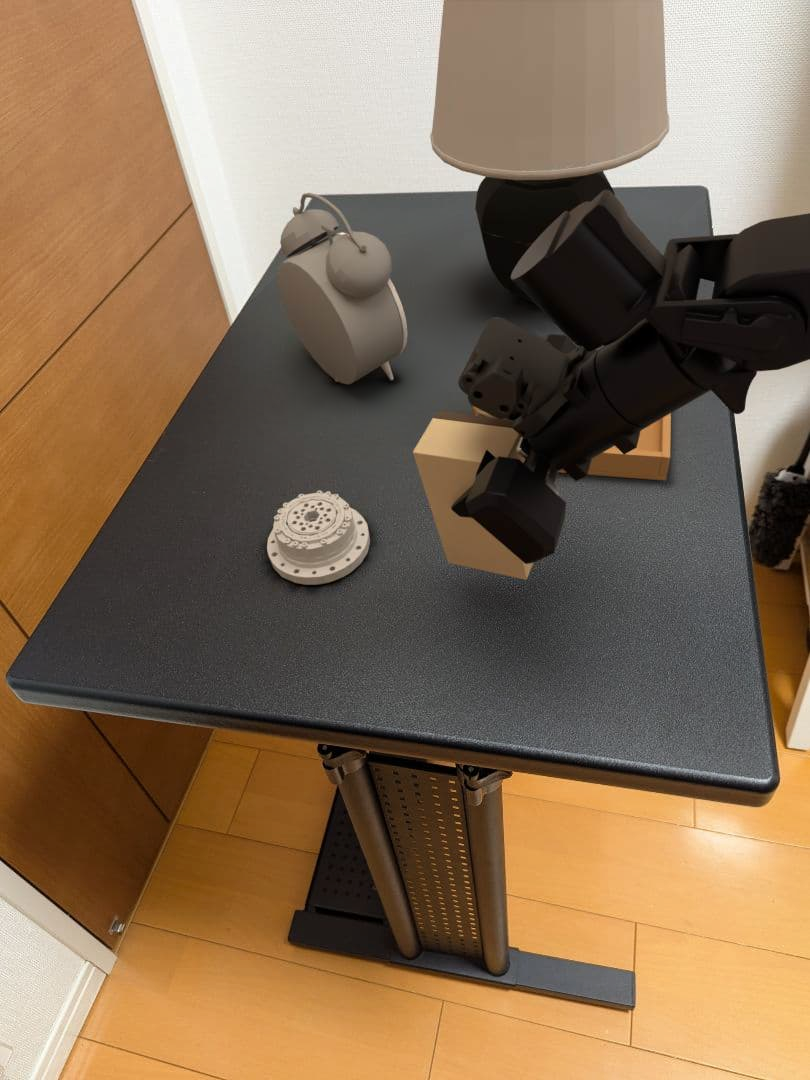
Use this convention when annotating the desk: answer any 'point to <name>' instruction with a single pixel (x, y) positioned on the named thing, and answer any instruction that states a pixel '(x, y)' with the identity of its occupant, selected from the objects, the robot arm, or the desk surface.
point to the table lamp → (545, 107)
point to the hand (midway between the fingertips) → (465, 488)
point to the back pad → (465, 486)
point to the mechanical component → (317, 539)
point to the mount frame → (638, 455)
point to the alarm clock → (340, 294)
